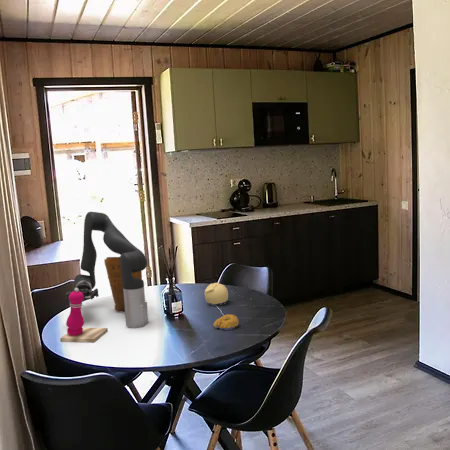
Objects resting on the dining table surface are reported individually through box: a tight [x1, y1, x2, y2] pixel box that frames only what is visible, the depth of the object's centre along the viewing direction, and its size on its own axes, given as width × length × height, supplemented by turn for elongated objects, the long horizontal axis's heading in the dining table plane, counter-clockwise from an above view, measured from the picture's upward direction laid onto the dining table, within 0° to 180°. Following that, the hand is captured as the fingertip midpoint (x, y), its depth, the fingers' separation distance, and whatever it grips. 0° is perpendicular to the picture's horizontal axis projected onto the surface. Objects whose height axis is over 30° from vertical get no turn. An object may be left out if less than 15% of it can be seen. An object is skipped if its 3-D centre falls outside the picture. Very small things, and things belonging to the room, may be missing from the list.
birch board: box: [60, 327, 109, 343], centre depth 203 cm, size 15×13×2 cm
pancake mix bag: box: [103, 256, 143, 313], centre depth 234 cm, size 7×19×28 cm, turn 72°
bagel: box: [212, 313, 239, 328], centre depth 206 cm, size 10×11×5 cm
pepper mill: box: [65, 287, 85, 336], centre depth 200 cm, size 7×7×20 cm
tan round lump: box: [204, 282, 229, 304], centre depth 240 cm, size 12×12×11 cm
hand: (81, 298), depth 211 cm, fingers open, 8 cm apart
